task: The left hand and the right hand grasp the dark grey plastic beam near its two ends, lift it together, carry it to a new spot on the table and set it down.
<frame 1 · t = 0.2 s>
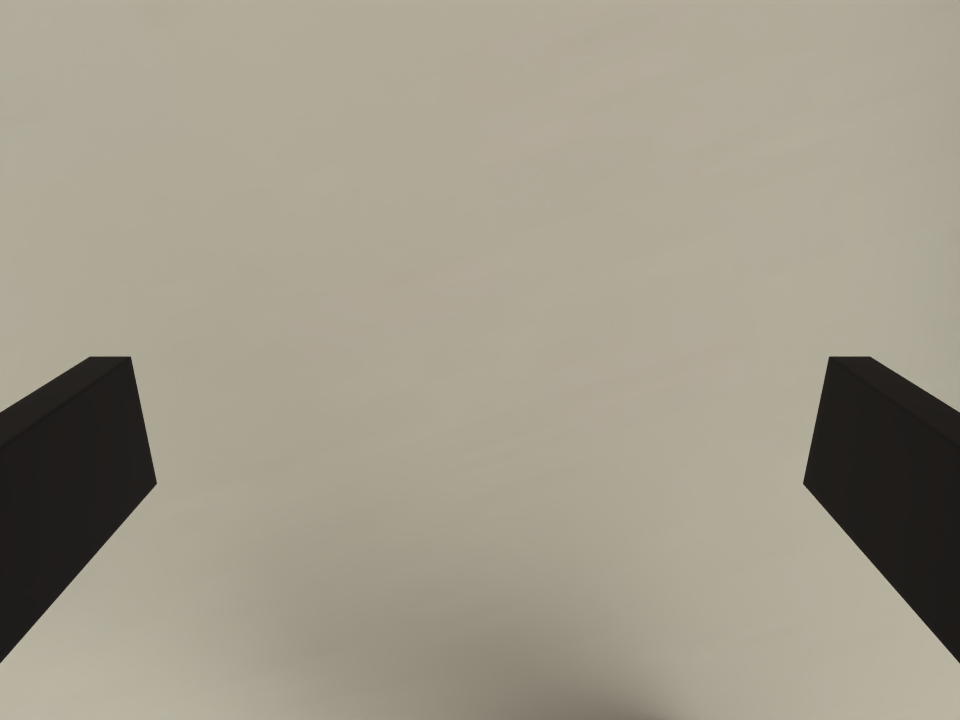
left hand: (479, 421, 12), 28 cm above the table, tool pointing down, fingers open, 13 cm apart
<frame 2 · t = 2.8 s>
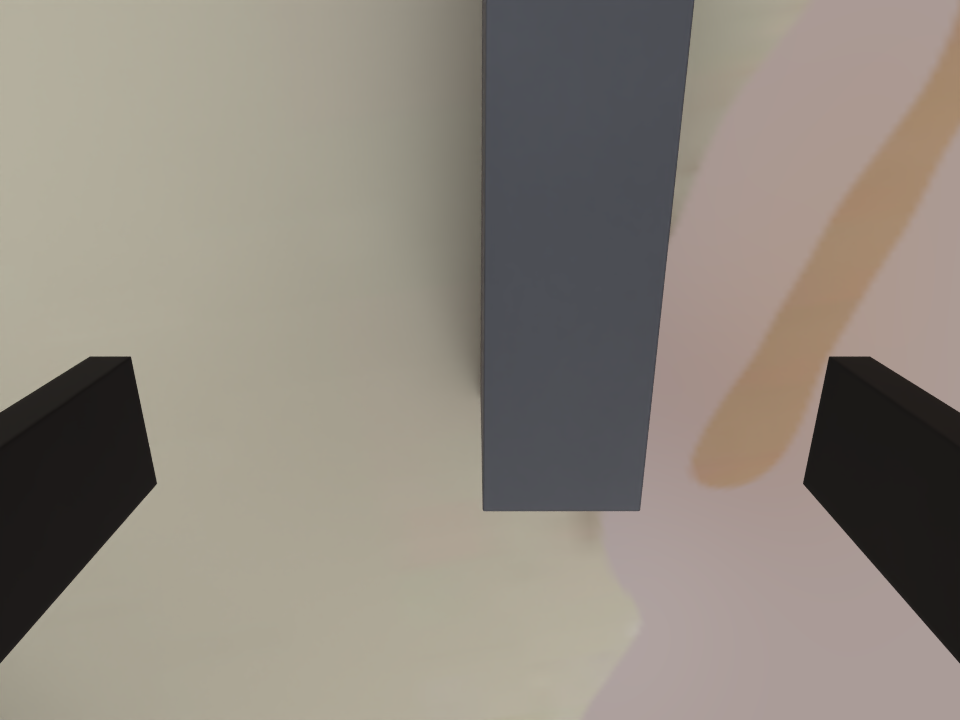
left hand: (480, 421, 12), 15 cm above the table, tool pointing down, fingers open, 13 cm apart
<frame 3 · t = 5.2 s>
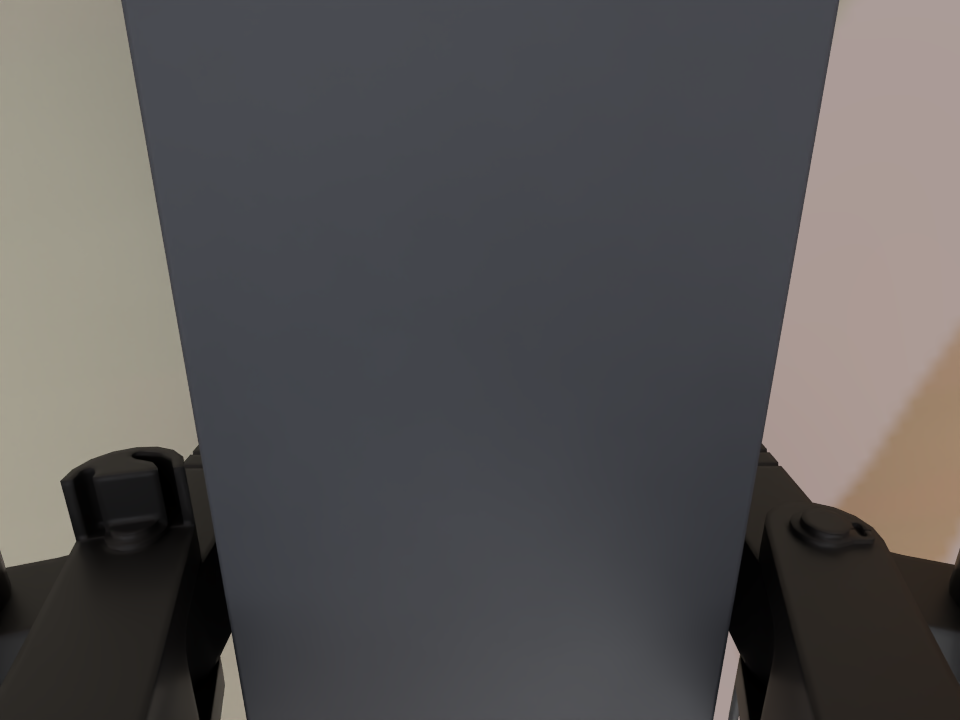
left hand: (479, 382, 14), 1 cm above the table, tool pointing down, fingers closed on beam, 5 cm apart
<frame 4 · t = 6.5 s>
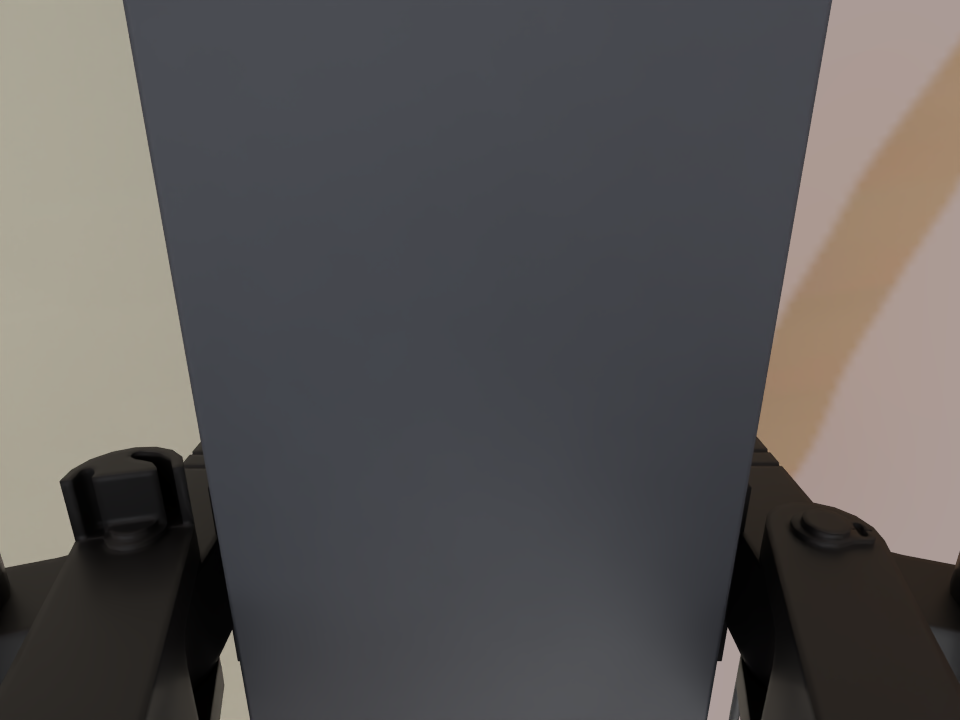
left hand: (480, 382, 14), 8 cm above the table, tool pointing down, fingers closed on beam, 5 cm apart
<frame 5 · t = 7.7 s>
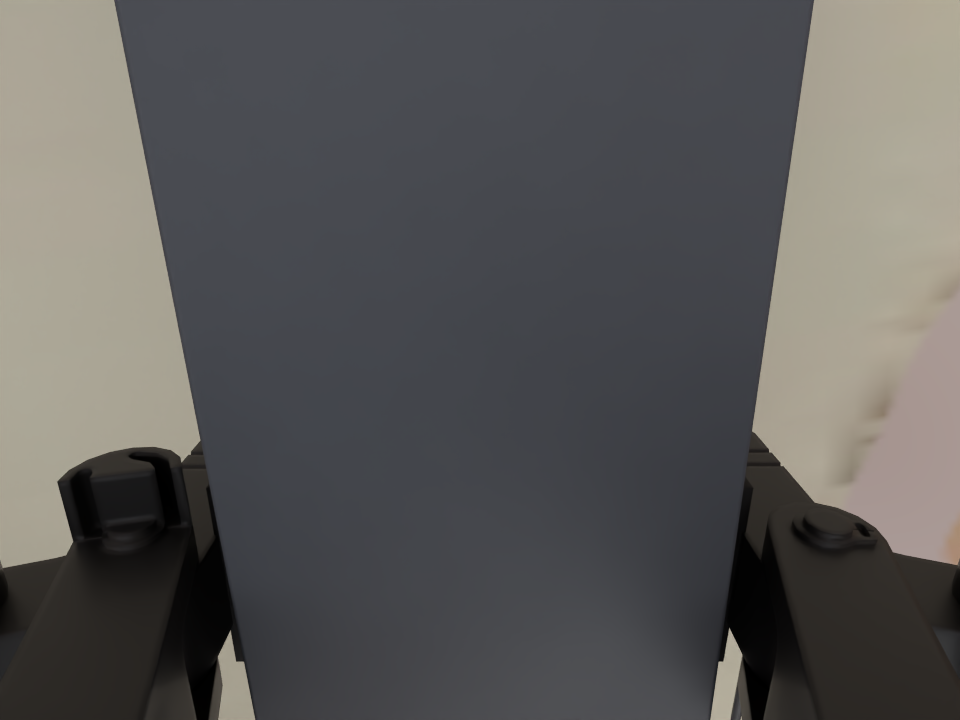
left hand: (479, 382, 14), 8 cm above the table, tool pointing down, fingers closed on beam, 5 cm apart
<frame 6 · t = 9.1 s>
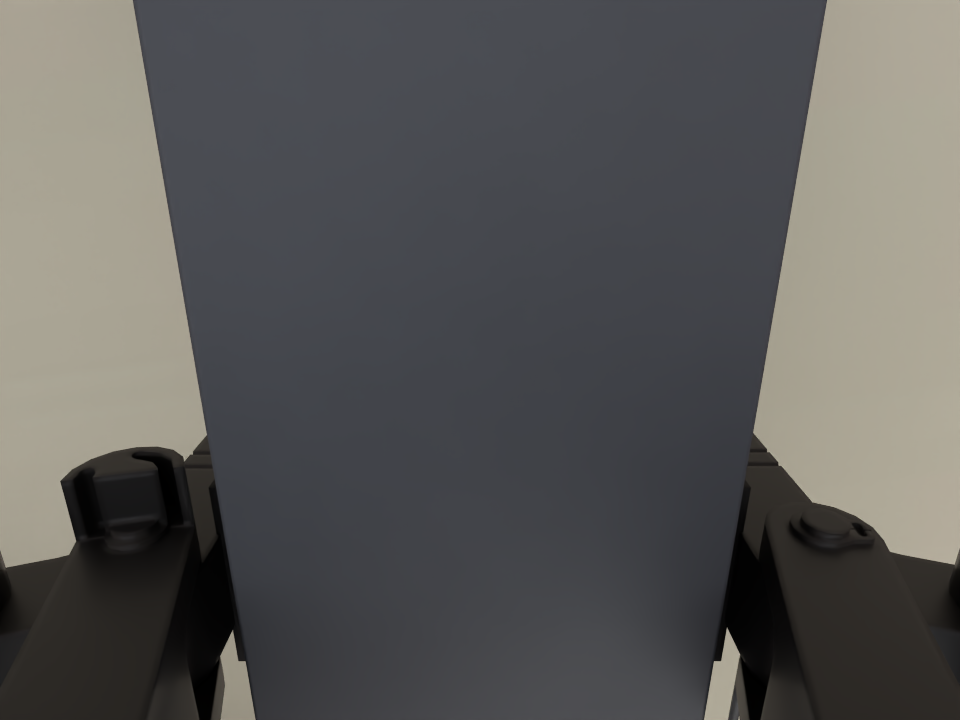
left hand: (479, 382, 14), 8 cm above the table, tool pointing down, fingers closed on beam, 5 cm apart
when the left hand's fingers open (2 cm above the table, at t = 10.0 s): beam drops 1 cm, on the table.
when the right hand's fingers open (5 cm above the table, at t = 10.1 s): beam stays where it is, on the table.
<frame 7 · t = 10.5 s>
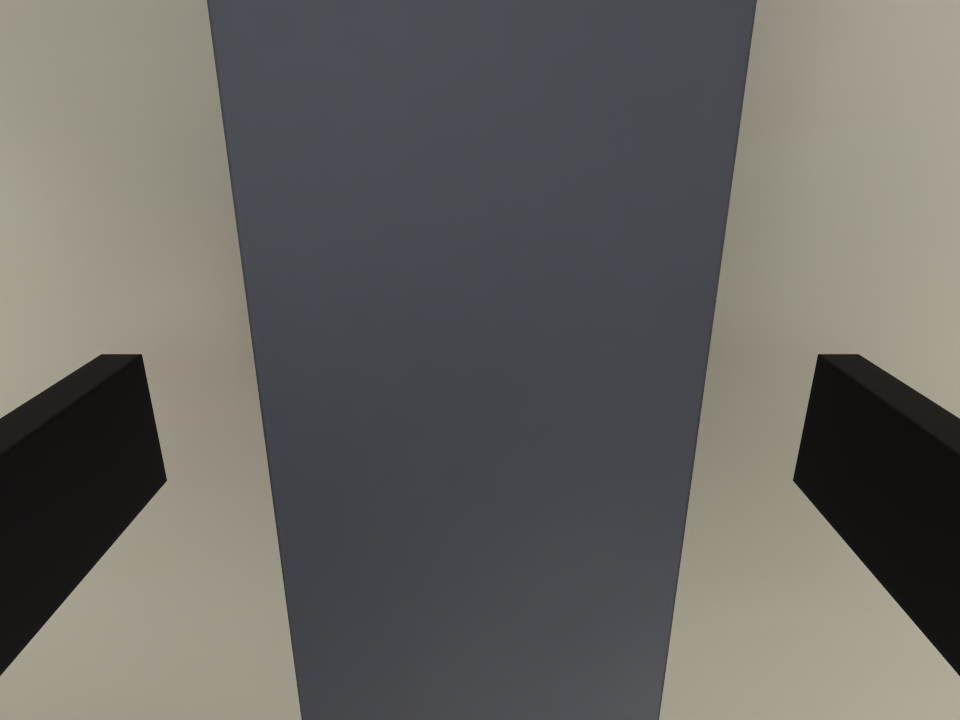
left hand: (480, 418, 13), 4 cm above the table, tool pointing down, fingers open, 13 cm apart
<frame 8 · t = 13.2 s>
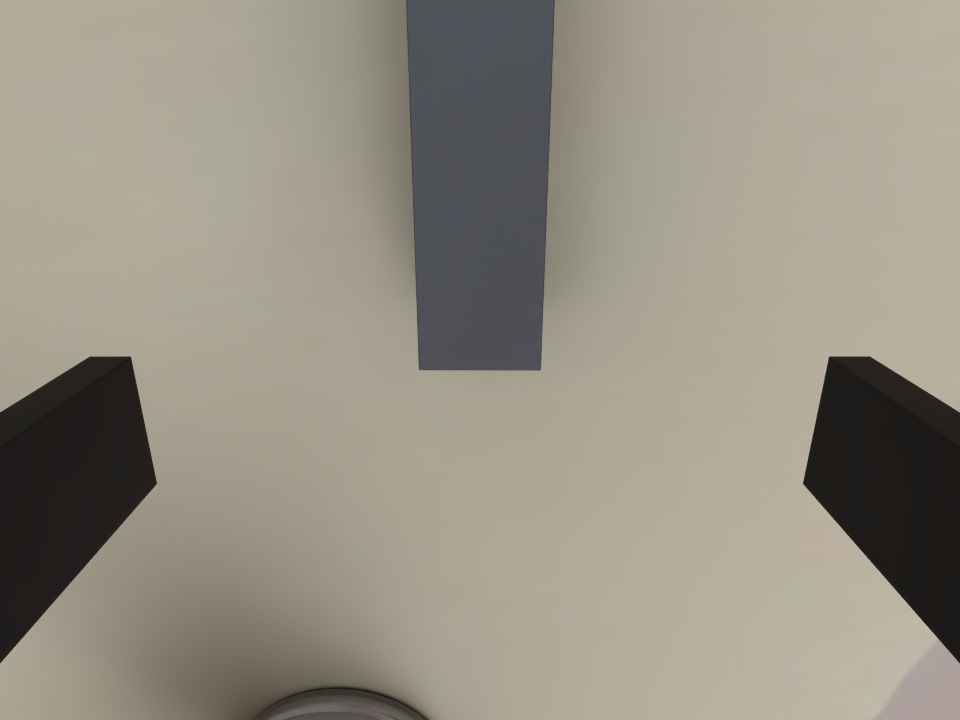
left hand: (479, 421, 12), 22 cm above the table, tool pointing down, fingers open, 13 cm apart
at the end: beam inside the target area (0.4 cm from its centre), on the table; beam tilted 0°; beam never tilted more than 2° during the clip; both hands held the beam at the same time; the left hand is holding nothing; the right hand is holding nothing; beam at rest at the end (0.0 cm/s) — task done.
